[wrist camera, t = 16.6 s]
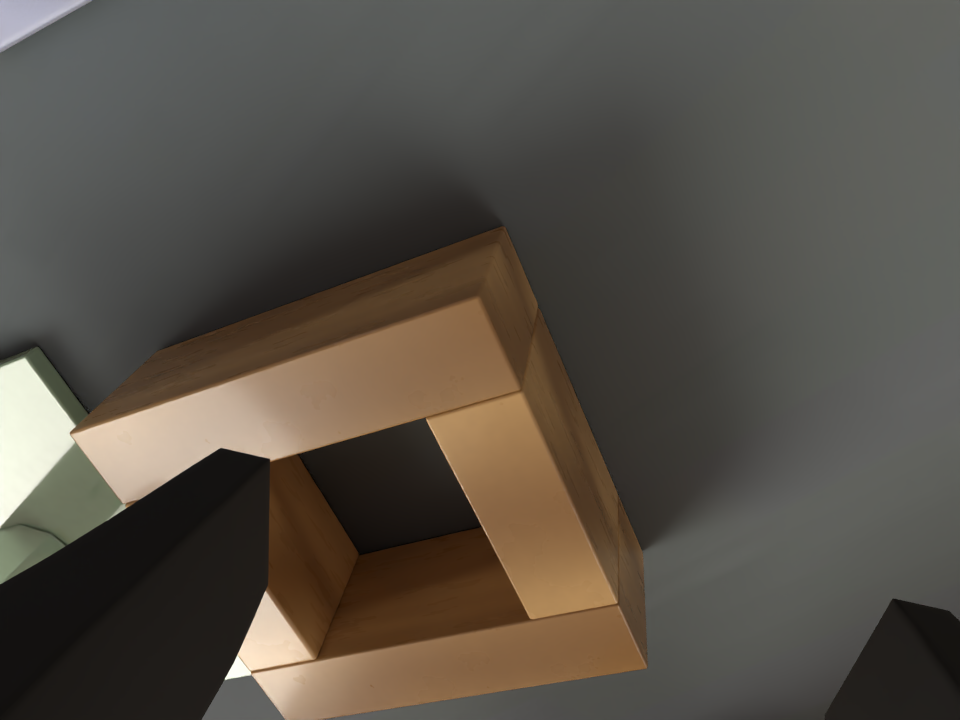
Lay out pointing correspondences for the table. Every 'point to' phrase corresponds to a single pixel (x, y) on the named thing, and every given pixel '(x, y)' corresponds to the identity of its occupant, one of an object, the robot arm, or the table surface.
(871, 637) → the robot arm
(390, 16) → the table surface
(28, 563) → the milkshake
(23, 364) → the tile
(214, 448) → the holder
